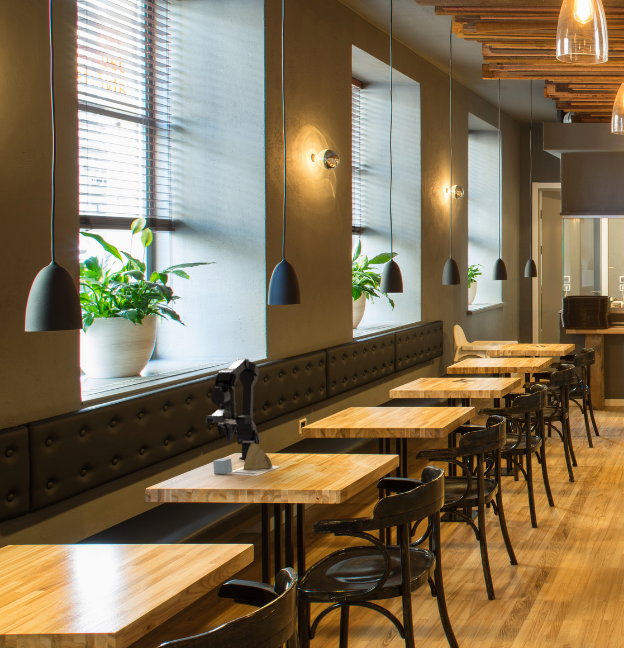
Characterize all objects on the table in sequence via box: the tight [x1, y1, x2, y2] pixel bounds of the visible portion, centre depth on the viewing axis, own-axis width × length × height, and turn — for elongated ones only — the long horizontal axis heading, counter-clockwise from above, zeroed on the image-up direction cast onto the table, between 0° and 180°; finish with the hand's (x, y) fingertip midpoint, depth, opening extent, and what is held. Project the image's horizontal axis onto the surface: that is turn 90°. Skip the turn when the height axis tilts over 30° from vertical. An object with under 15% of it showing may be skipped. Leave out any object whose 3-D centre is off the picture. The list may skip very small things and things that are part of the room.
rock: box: [243, 443, 273, 470], centre depth 318 cm, size 11×9×10 cm
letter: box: [225, 465, 282, 477], centre depth 317 cm, size 18×14×1 cm
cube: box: [212, 458, 233, 475], centre depth 314 cm, size 5×5×5 cm
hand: (229, 440), depth 322 cm, fingers closed
